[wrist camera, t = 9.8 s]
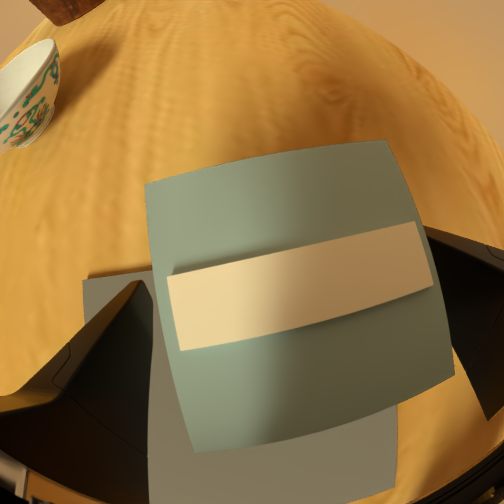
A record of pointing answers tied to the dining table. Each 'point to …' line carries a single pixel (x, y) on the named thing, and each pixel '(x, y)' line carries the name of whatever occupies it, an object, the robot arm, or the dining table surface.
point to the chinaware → (28, 94)
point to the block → (294, 293)
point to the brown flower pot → (65, 9)
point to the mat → (256, 457)
